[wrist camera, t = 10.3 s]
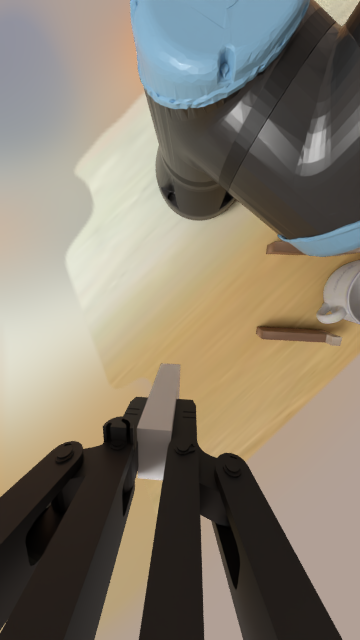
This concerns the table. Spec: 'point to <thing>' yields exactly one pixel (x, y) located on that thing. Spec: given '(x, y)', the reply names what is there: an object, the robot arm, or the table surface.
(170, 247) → the table surface
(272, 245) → the brown parallel rails
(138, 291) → the table surface
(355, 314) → the teacup
